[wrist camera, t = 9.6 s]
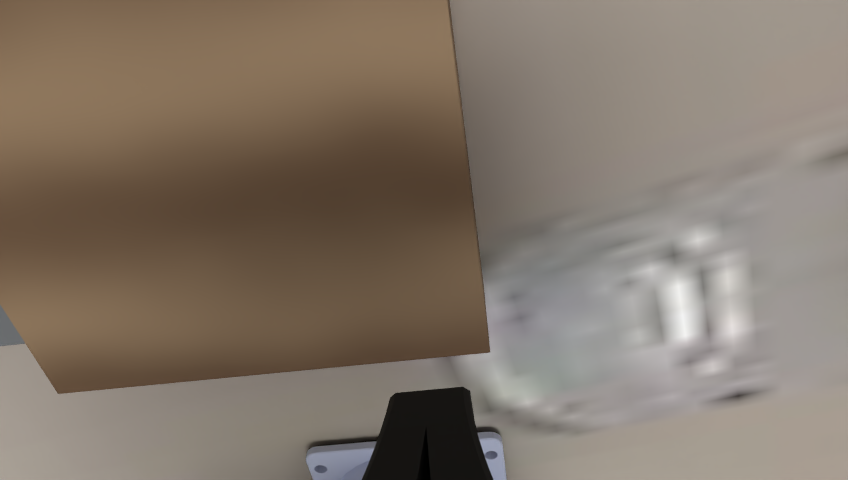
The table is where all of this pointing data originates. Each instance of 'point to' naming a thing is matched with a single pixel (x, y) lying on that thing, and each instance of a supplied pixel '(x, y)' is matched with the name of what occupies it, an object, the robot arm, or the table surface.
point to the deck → (233, 188)
